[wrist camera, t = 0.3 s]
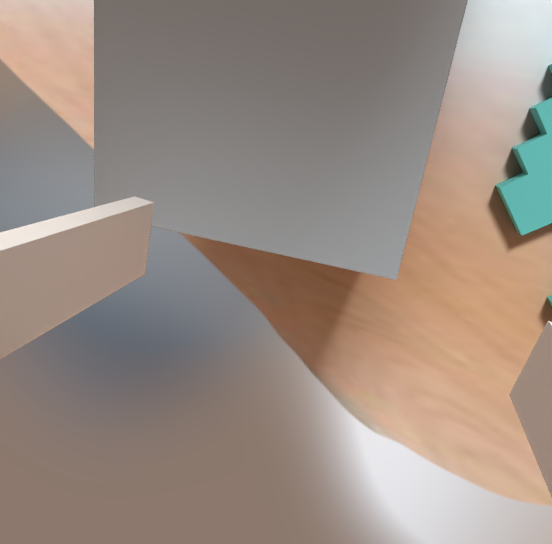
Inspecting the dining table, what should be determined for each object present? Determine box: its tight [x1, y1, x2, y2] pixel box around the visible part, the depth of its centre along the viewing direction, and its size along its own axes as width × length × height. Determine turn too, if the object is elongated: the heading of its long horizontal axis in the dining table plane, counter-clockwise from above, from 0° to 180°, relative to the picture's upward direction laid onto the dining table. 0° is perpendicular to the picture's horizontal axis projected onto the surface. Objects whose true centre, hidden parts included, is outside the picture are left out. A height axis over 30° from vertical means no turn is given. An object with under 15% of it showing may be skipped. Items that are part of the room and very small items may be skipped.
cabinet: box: [94, 0, 468, 280], centre depth 27 cm, size 25×16×22 cm, turn 172°
